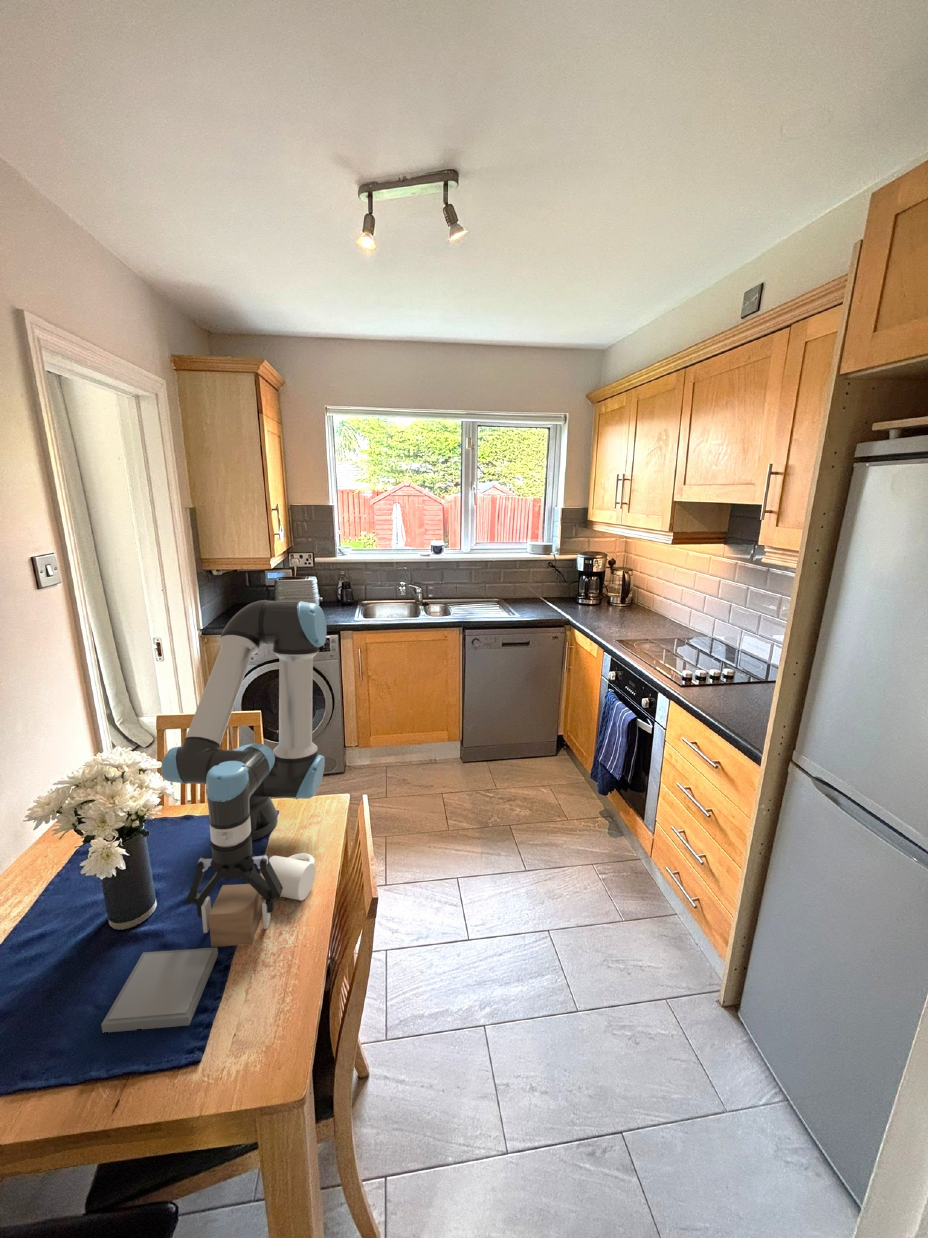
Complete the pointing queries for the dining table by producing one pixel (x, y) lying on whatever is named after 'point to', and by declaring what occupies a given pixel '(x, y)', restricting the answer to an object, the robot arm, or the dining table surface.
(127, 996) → the plate
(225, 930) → the cube
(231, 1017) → the dining table surface
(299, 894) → the mug
